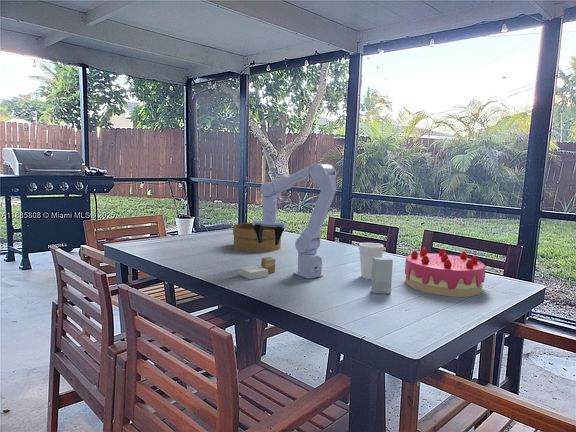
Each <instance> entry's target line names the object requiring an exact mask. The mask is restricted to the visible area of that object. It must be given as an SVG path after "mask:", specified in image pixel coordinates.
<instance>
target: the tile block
mask: <svg viewBox="0 0 576 432" xmlns="http://www.w3.org/2000/svg"><path fill="white" fill-rule="evenodd" d="M238 270H239V271H238V272H239V274H238V275H239V276H242V277H244V278H246V279H249V280H255V279H261V278H268V277H269V273H268V270H267V269H265V268H262V267H261V266H259V265H251V266H245V267H239V268H238Z"/></svg>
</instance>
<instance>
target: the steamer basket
mask: <svg viewBox="0 0 576 432" xmlns="http://www.w3.org/2000/svg"><path fill="white" fill-rule="evenodd" d="M252 224H253V222H246V223H238V224H237V223H236V224H234V225H233V226H232V235H233V248H234V249H235V250H239V251H242V252H249V253H250V252H251V253H269V252H275V251H279V250H280V249H281V247H282V246H281V245H282V243H281V242H282V240H281V239H282V236H283V234H282V235H281V237H280V241H279V244H278V245H275V230H274V228H277V227H269V226H264V228H263V236H262V243H259V242H258V238H257V234H256V232H255V230H254V227H255V225H252ZM264 225H265V224H264Z"/></svg>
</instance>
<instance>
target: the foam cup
mask: <svg viewBox="0 0 576 432" xmlns="http://www.w3.org/2000/svg"><path fill="white" fill-rule="evenodd" d="M358 245H359V247H358V250H359V261H360V273H361V275H360V276H361V278H363V279H367V280H372V261H373V257H378V258H383V254H384V248H385V246H384V244H382V243H377V242H360V243H359V244H358Z"/></svg>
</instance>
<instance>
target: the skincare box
mask: <svg viewBox="0 0 576 432" xmlns="http://www.w3.org/2000/svg"><path fill="white" fill-rule="evenodd" d="M393 264H394V263H393V259H392V258H390V257H382V258H378V257H373V261H372V279H371V285H370V290H371V292H372V293H373V294H375V295H377V294H378V295H379V294H381V295H382V294H391V292H392V282H393V281H392V278H393Z"/></svg>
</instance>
